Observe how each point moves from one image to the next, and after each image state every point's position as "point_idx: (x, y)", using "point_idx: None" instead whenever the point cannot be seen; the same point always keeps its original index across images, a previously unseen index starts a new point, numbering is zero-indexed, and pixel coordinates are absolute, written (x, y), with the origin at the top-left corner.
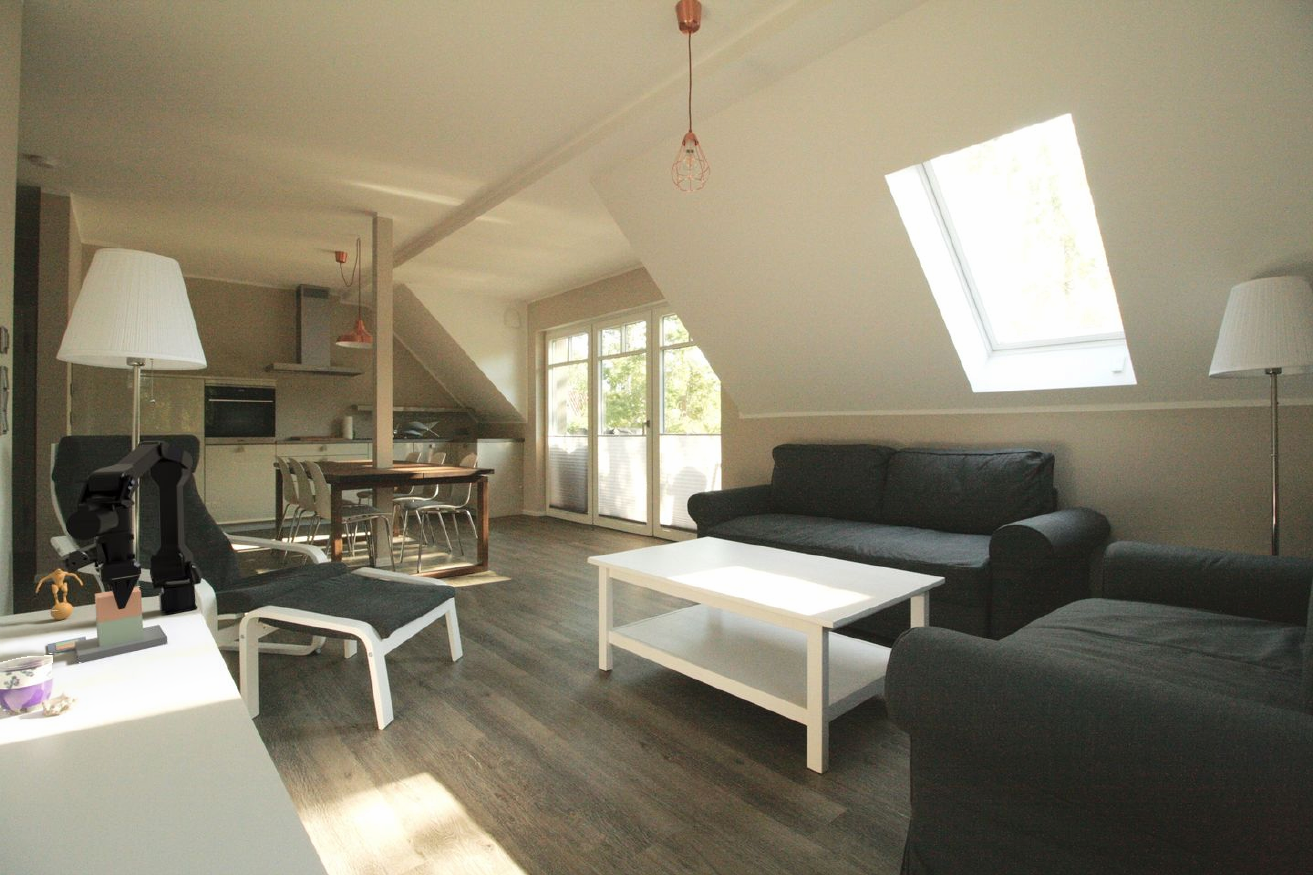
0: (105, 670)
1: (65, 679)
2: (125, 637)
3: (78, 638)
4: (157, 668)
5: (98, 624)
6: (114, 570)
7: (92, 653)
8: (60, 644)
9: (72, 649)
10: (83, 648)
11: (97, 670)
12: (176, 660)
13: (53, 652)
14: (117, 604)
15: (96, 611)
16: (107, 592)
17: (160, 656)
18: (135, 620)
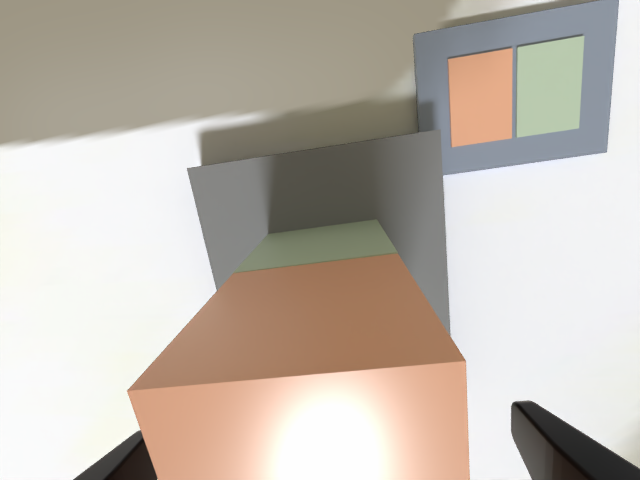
0: (63, 254)
1: (27, 147)
2: None
3: (595, 127)
4: (7, 376)
5: (237, 269)
6: None
7: (198, 214)
8: (540, 62)
9: (418, 124)
10: (292, 177)
11: (76, 232)
12: (57, 416)
13: (422, 51)
14: (95, 466)
15: (344, 280)
16: (417, 473)
17: (123, 384)
18: None
